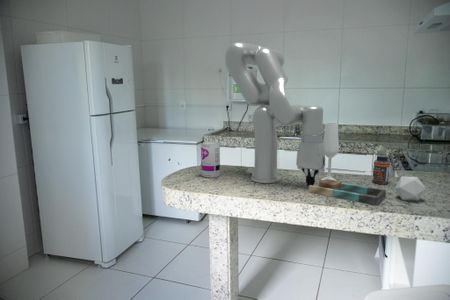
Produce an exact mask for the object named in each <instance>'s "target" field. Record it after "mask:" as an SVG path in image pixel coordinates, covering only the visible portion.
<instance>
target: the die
mask: <svg viewBox="0 0 450 300" xmlns="http://www.w3.org/2000/svg"><path fill="white" fill-rule="evenodd" d="M426 188H427V187H425V185H424V184H423V183H422V182H421V180H420V179H419V178H418V177H417V176H400V178H399V180H398V182H397V184H396V186H395V187H394V190H395V191H396V193H397V195H398V196H399V197H400V199H401V200H402V201H417V202H419V201H420V199H421V198H422V197H423V196H422V195H423V194H424V193H425V191H426V190H427V189H426Z"/></svg>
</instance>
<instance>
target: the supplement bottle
mask: <svg viewBox="0 0 450 300" xmlns="http://www.w3.org/2000/svg"><path fill="white" fill-rule="evenodd" d="M388 159H389V157H388V155H386V154H385V155H384V154H378V155H376V159H375V160H374V161H373V165H372V166H373V167H372V175H371V176H372V180H371V181H372V183H374V184H377V185H388V183H389V178H390V177H389V175H390V164H391V163H390V161H389V160H388Z"/></svg>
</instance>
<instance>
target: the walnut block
mask: <svg viewBox="0 0 450 300" xmlns="http://www.w3.org/2000/svg"><path fill="white" fill-rule="evenodd" d="M342 183H343V182H342V181H340V180H337V181H335V180H330V179H325V180H323V181H320V182H319V181H318V187H324V188H329V189H335V190H340V191H342V190H341V185H342Z"/></svg>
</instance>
